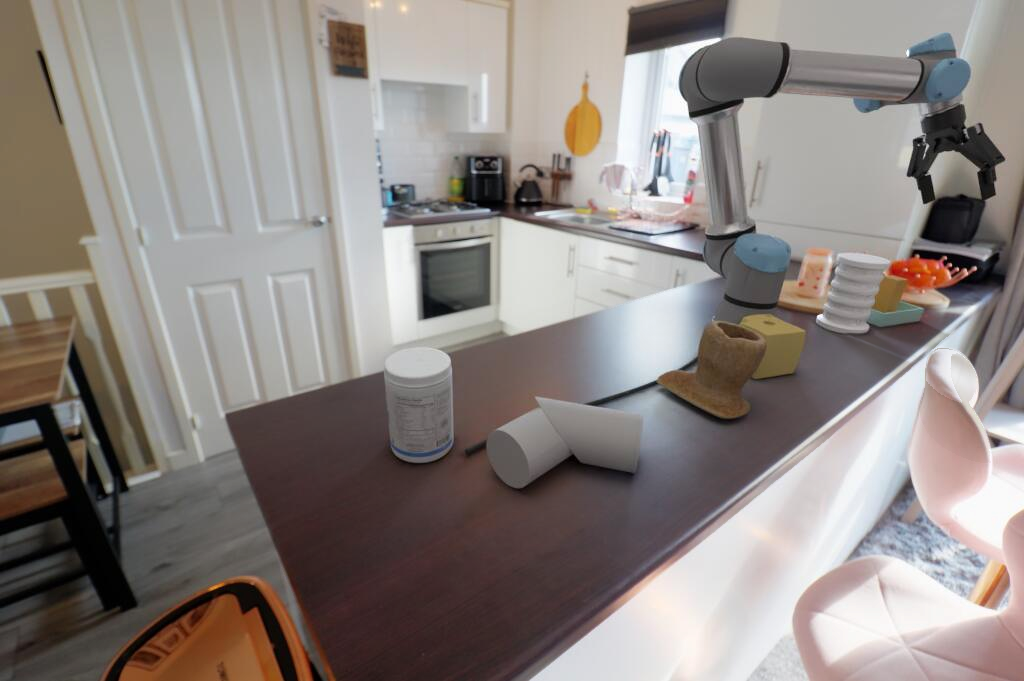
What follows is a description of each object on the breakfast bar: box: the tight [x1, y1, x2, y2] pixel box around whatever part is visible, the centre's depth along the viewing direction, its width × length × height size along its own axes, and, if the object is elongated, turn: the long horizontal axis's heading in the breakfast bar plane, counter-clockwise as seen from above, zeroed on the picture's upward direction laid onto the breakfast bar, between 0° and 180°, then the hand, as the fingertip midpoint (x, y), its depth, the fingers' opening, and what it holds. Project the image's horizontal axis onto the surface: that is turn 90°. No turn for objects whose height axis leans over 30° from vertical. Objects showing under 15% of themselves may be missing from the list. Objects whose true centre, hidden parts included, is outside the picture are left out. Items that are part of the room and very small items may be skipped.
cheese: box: [739, 314, 807, 380], centre depth 99 cm, size 10×11×10 cm
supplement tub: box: [383, 346, 454, 464], centre depth 70 cm, size 10×10×15 cm
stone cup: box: [656, 321, 766, 420], centre depth 85 cm, size 15×12×15 cm
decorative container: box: [815, 252, 892, 335], centre depth 121 cm, size 12×12×18 cm
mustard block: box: [871, 275, 909, 313], centre depth 128 cm, size 4×4×11 cm
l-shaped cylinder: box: [485, 396, 644, 489], centre depth 68 cm, size 18×11×20 cm
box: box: [866, 298, 925, 328], centre depth 129 cm, size 15×10×4 cm
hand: (957, 200), depth 113 cm, fingers open, 13 cm apart
